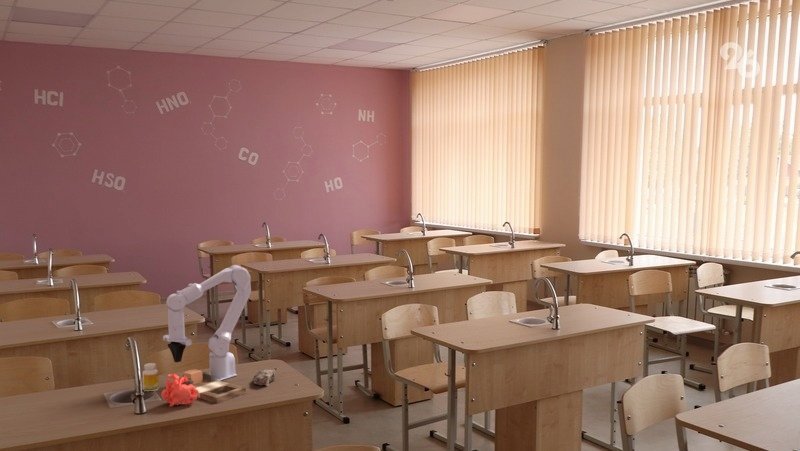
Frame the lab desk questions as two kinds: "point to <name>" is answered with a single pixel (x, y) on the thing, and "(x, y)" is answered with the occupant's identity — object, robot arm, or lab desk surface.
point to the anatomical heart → (179, 391)
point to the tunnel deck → (215, 389)
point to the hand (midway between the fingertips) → (177, 361)
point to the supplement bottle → (150, 377)
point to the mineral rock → (264, 377)
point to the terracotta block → (194, 375)
